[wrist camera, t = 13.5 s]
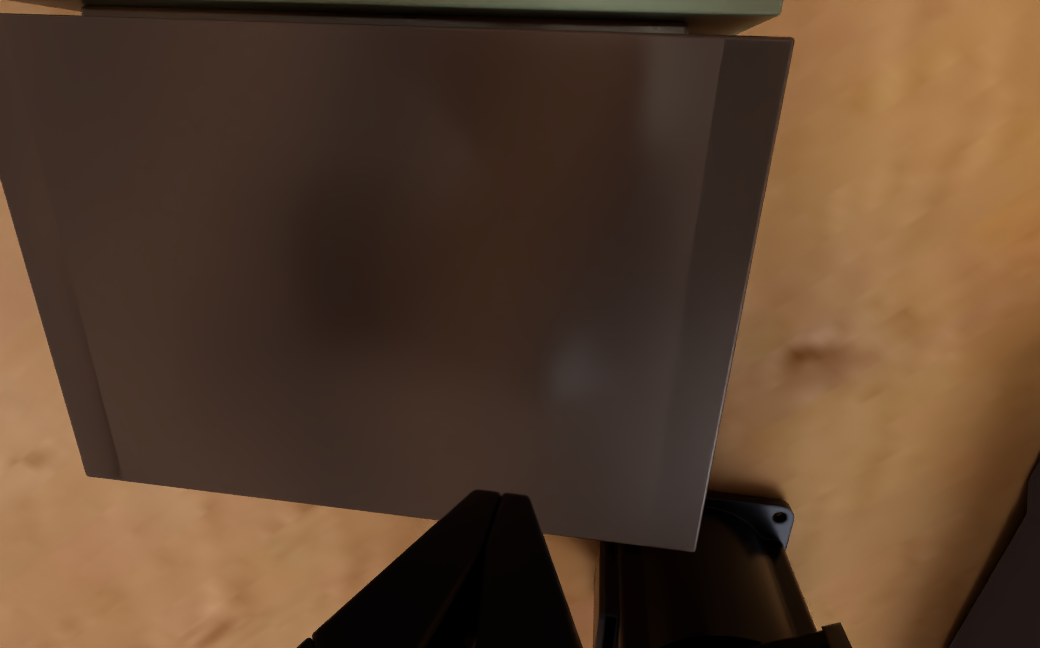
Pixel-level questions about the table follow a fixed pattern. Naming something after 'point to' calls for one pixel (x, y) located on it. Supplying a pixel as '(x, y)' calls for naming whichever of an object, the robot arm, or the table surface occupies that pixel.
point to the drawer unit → (393, 256)
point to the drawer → (459, 13)
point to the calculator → (1010, 590)
